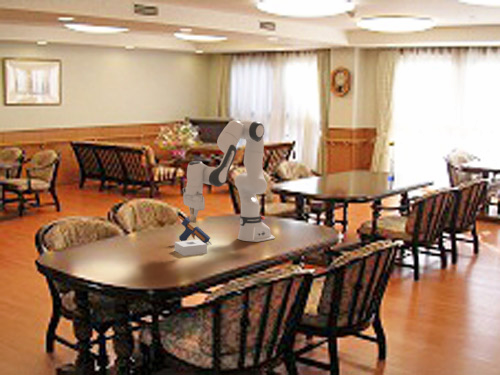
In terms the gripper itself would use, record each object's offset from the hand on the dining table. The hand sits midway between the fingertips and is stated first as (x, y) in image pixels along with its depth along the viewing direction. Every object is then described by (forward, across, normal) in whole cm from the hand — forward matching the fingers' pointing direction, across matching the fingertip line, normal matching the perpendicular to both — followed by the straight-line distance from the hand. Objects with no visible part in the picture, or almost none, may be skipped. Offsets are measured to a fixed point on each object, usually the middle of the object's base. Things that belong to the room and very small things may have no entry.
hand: (193, 215), depth 363 cm
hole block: (+20, 0, +1) cm, 20 cm away
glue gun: (+20, +19, -10) cm, 30 cm away
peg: (+4, 0, 0) cm, 4 cm away
